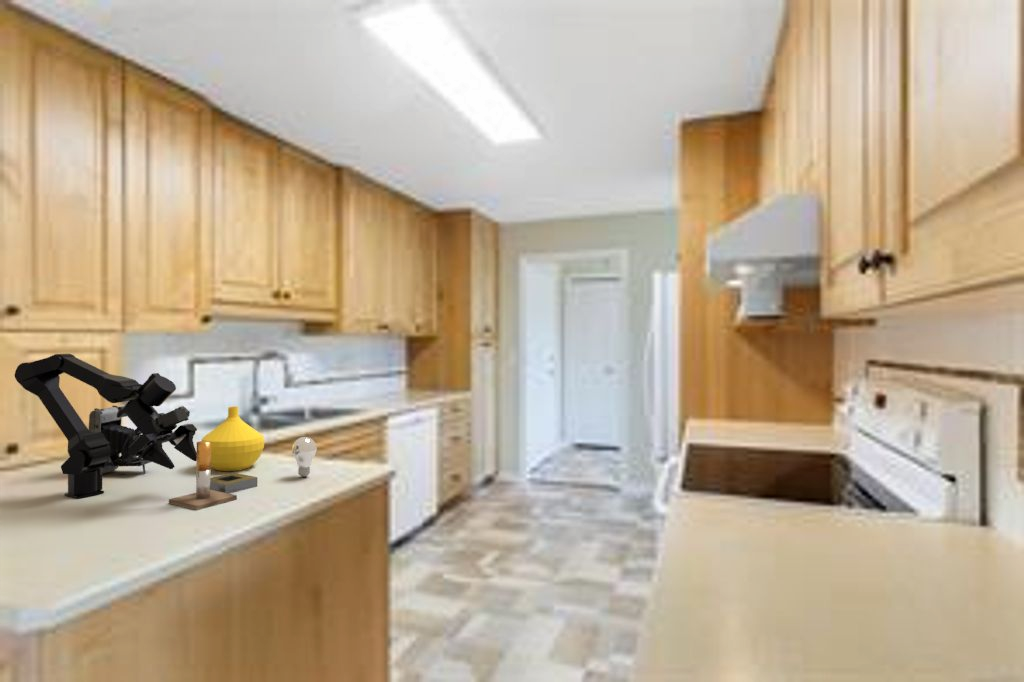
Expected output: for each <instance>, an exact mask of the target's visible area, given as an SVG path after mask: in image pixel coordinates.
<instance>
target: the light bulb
mask: <svg viewBox="0 0 1024 682" xmlns="http://www.w3.org/2000/svg"><path fill="white" fill-rule="evenodd" d="M317 449H318V448H317V443H316V442H315V440H314V439H312V438H311V437H308V436H301V437H298V438H297V439H296V440H294V443H293V444H292V447H291V451H292V452H291V453H292V456H293V457H294V458H295V461H296V464H297V467H298V469H297V471H298V475H299V476H300V477H301V478H307V477H308V476H309V475H310V474H311V465H312V462H313V461H312V460H313V459H314V457H315V455H316V453H317Z"/></svg>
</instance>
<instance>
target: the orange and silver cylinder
mask: <svg viewBox="0 0 1024 682" xmlns="http://www.w3.org/2000/svg"><path fill="white" fill-rule="evenodd" d="M196 453H197V457H196V461H195V462H196V463H195V466H196V469H195V470H196V472H195V473H196V477H195V478H196V479H195V484H196V485H195V493H196V498H197V499H206V498H209V497H210V478H211V474H212V473H211V468H212V467H211V441H202V440H201V441H196Z"/></svg>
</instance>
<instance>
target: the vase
mask: <svg viewBox="0 0 1024 682" xmlns="http://www.w3.org/2000/svg"><path fill="white" fill-rule="evenodd" d="M227 410H228V411H227V417H226V419H224V421H222V422H221V423H220V424H219V425H218V426H216V427H215V428H214V429H212V430H211V431H210V432H208V433H207V434H206V435H205V436H202V439H201V441H211V468H213V470H216V471H220V472H236V471H237V472H238V471H242V470H247V469H248V468H250V467H251V466H253V465H254V464H255V463H256V462H257V461H258V460H259V458H260V457H261V455H262V453H263V451H264V448H265V437H264V436H263V434H262V433H261V432H259V431H257V430H256V429H255V428H253V427H252V426H250V425H249V424H248V423H246V422H245V421H244V420H242V418H241V417H240V415H239V406H228V409H227Z"/></svg>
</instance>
